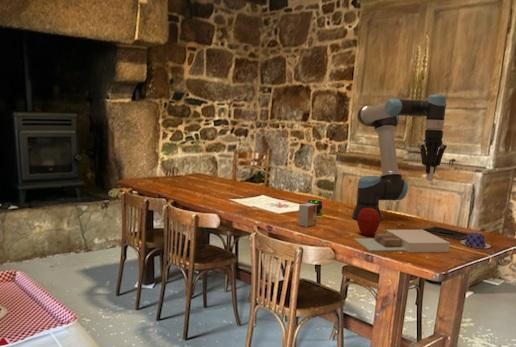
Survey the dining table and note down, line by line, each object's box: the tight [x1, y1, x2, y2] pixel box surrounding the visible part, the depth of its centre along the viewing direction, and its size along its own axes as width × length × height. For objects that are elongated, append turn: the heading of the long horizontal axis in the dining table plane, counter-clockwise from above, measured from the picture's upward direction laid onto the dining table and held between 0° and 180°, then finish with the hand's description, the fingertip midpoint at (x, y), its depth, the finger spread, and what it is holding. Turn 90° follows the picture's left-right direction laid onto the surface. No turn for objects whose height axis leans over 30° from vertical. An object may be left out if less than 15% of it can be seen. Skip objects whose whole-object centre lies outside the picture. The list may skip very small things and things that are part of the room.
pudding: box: [459, 232, 492, 249], centre depth 176 cm, size 12×12×5 cm
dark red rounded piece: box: [357, 206, 381, 236], centre depth 186 cm, size 10×10×14 cm
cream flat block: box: [385, 229, 451, 253], centre depth 173 cm, size 20×18×4 cm
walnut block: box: [374, 233, 401, 247], centre depth 171 cm, size 10×7×3 cm
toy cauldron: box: [304, 194, 326, 218], centre depth 224 cm, size 15×15×11 cm
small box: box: [297, 202, 317, 228], centre depth 200 cm, size 8×6×10 cm
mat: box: [353, 237, 407, 252], centre depth 170 cm, size 16×16×1 cm
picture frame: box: [422, 225, 470, 241], centre depth 193 cm, size 13×2×18 cm
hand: (429, 180), depth 185 cm, fingers closed
